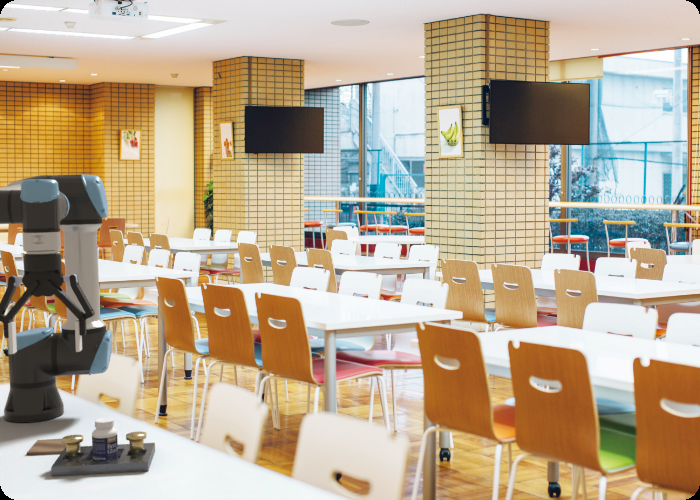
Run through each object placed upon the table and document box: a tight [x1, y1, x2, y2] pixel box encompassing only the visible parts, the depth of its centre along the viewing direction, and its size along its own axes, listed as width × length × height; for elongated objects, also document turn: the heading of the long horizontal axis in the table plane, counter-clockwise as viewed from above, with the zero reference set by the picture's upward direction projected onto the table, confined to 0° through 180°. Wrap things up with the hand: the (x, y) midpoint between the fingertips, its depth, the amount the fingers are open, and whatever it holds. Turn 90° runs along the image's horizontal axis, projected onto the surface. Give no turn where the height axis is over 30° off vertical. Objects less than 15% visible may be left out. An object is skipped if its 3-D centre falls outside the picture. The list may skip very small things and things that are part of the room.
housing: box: [50, 442, 156, 477], centre depth 185 cm, size 14×20×2 cm
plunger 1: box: [61, 434, 84, 457], centre depth 184 cm, size 4×4×4 cm
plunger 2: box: [125, 431, 147, 453], centre depth 186 cm, size 4×4×4 cm
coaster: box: [26, 438, 66, 456], centre depth 197 cm, size 10×10×1 cm
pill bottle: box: [91, 417, 119, 460], centre depth 185 cm, size 5×5×10 cm
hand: (46, 352), depth 178 cm, fingers open, 13 cm apart
